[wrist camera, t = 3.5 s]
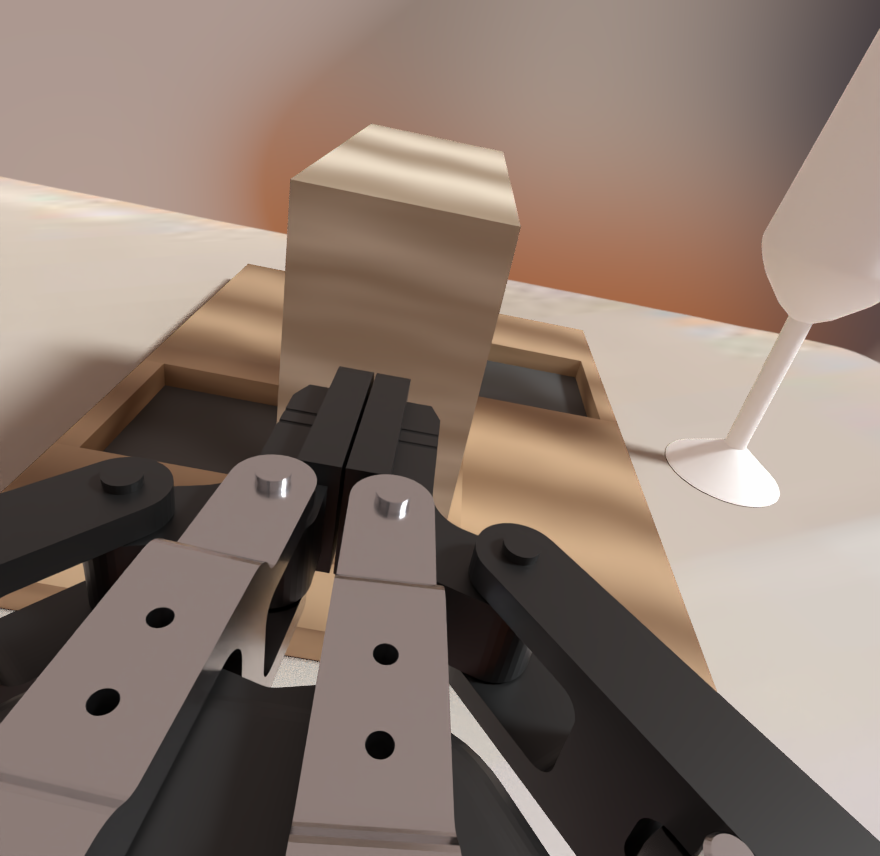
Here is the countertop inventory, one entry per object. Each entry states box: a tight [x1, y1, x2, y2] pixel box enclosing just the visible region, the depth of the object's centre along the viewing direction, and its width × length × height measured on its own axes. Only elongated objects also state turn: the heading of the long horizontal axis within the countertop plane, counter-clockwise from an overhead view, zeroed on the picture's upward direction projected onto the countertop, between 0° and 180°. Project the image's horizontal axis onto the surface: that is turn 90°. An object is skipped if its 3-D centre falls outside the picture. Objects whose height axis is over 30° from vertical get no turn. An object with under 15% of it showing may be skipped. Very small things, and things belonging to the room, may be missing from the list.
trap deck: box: [0, 264, 717, 692], centre depth 34 cm, size 32×26×2 cm
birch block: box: [277, 124, 521, 564], centre depth 25 cm, size 14×6×13 cm, turn 177°
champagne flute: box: [665, 29, 880, 507], centre depth 30 cm, size 7×7×24 cm
